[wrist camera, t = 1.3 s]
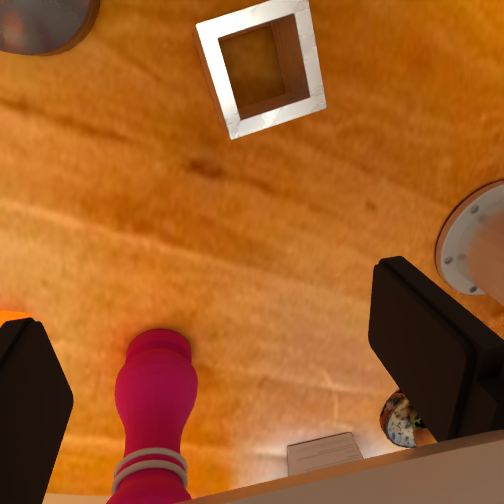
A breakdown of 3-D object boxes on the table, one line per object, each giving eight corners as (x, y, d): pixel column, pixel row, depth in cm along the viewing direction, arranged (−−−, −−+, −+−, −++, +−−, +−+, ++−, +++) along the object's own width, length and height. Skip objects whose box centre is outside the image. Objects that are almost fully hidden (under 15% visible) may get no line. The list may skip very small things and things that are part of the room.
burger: (457, 423, 52) (497, 474, 45) (379, 446, 51) (408, 502, 44) (465, 362, 46) (512, 410, 40) (377, 386, 45) (411, 440, 39)
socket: (279, 6, 25) (306, -11, 20) (299, 101, 28) (326, 107, 23) (192, 34, 25) (195, 24, 20) (221, 127, 28) (231, 139, 23)
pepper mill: (135, 387, 38) (98, 660, 20) (111, 335, 35) (40, 608, 17) (203, 369, 39) (223, 620, 21) (185, 316, 35) (191, 561, 18)
